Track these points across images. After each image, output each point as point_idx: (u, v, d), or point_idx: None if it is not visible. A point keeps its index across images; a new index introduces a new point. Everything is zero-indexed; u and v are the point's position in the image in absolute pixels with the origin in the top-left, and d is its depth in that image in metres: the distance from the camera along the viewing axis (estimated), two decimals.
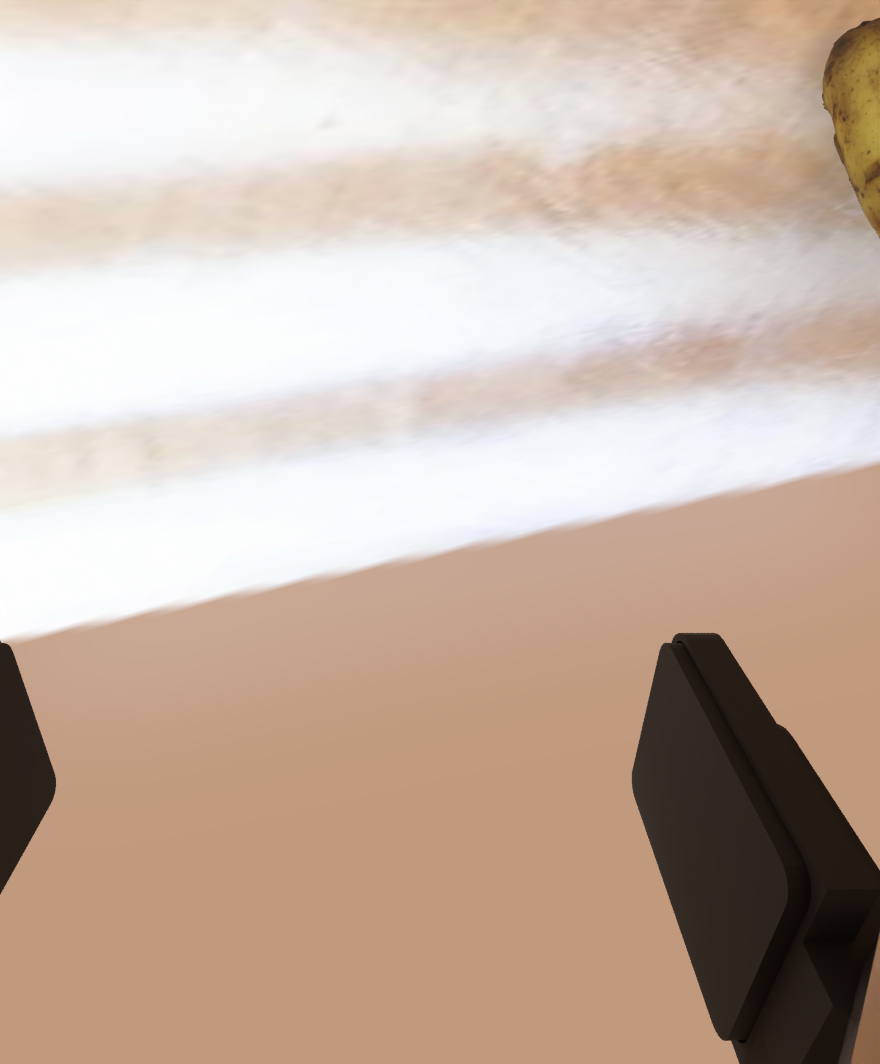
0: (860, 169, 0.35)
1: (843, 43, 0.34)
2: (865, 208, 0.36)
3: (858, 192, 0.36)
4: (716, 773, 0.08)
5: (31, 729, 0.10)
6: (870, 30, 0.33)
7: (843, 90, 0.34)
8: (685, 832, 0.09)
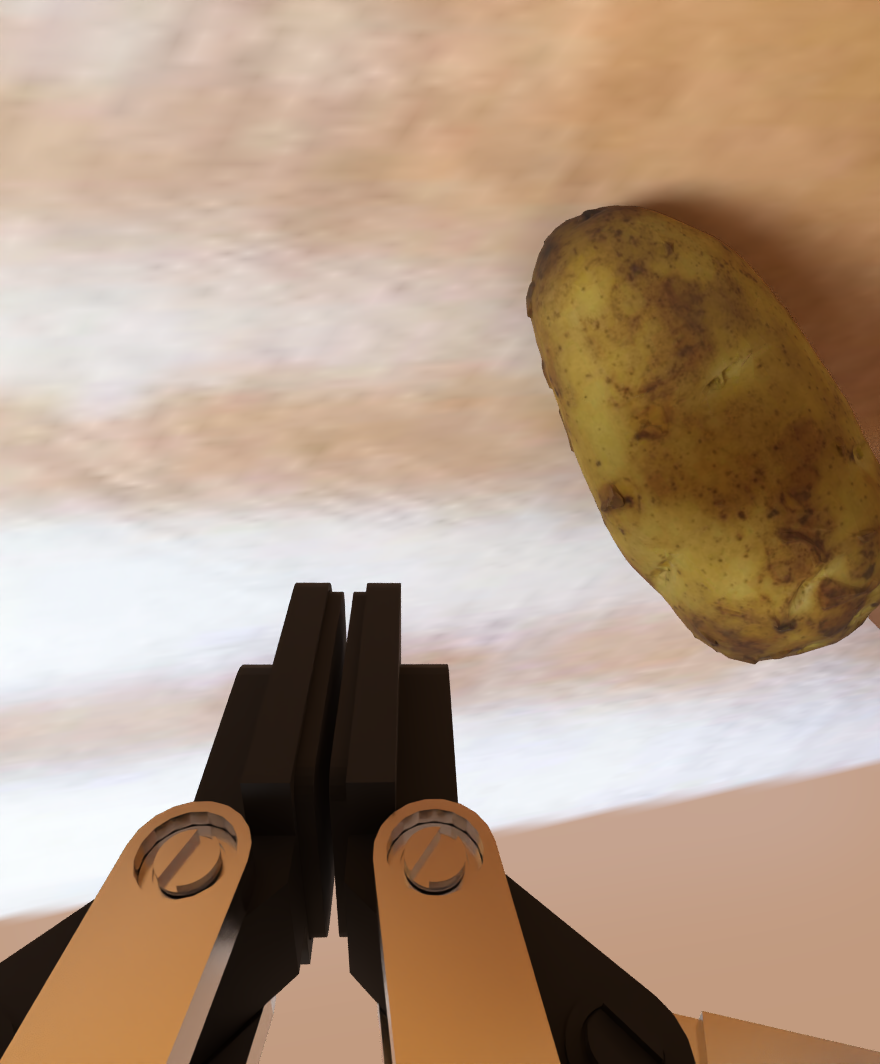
0: (592, 484, 0.18)
1: (548, 252, 0.17)
2: None
3: (600, 510, 0.19)
4: None
5: None
6: (586, 238, 0.17)
7: (547, 345, 0.17)
8: None
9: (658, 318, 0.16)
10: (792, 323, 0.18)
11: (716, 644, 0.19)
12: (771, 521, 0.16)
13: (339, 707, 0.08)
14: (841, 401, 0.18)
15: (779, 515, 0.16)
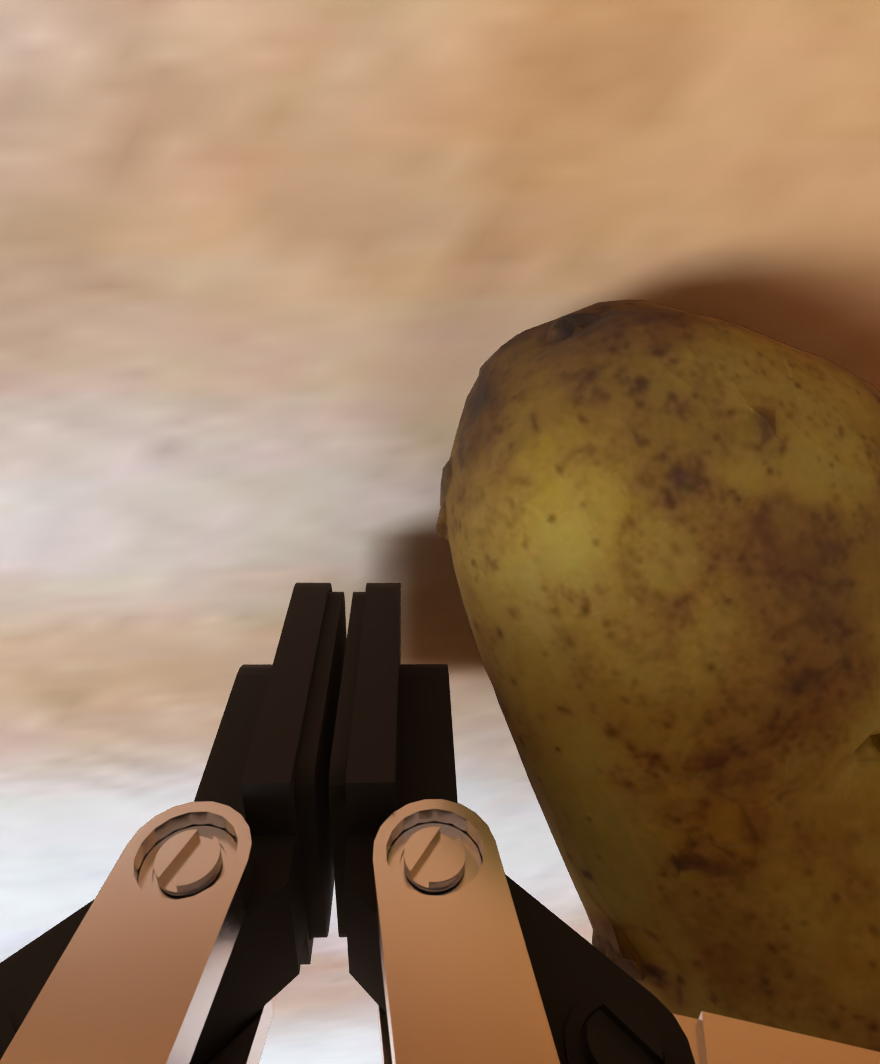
0: (575, 886, 0.09)
1: (479, 408, 0.08)
2: None
3: None
4: None
5: None
6: (560, 393, 0.07)
7: (474, 614, 0.08)
8: None
9: (738, 603, 0.06)
10: None
11: None
12: None
13: (339, 707, 0.08)
14: None
15: None
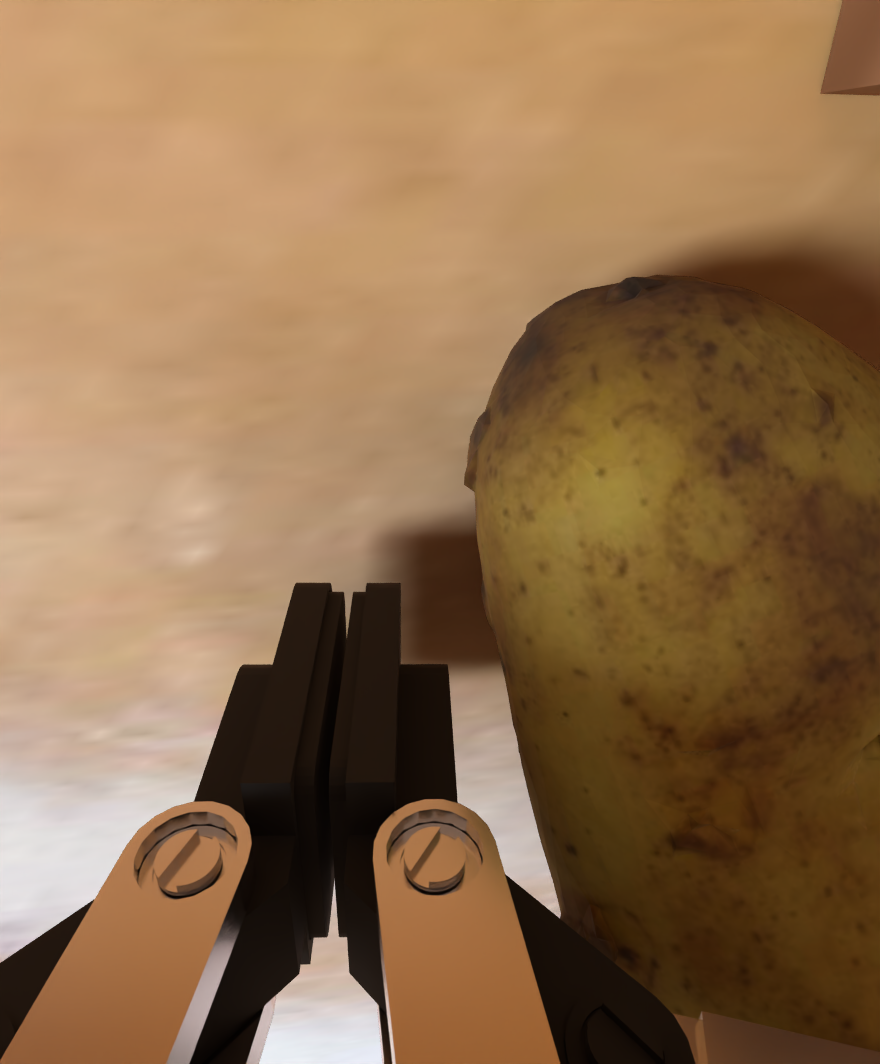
0: (550, 863, 0.08)
1: (530, 357, 0.08)
2: None
3: None
4: None
5: None
6: (625, 347, 0.07)
7: (496, 568, 0.07)
8: None
9: (776, 581, 0.06)
10: None
11: None
12: None
13: (339, 707, 0.08)
14: None
15: None
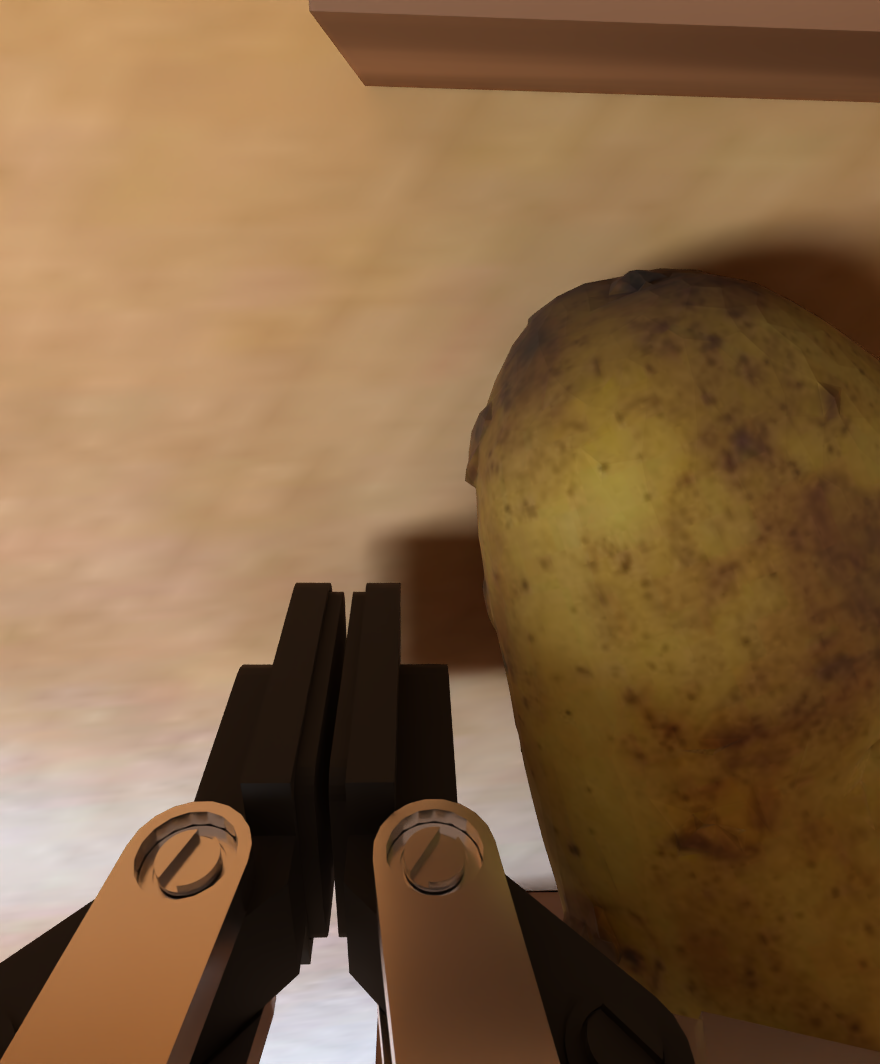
0: (553, 864, 0.08)
1: (531, 352, 0.07)
2: None
3: None
4: None
5: None
6: (628, 340, 0.07)
7: (498, 565, 0.07)
8: None
9: (782, 579, 0.06)
10: None
11: None
12: None
13: (339, 707, 0.08)
14: None
15: None
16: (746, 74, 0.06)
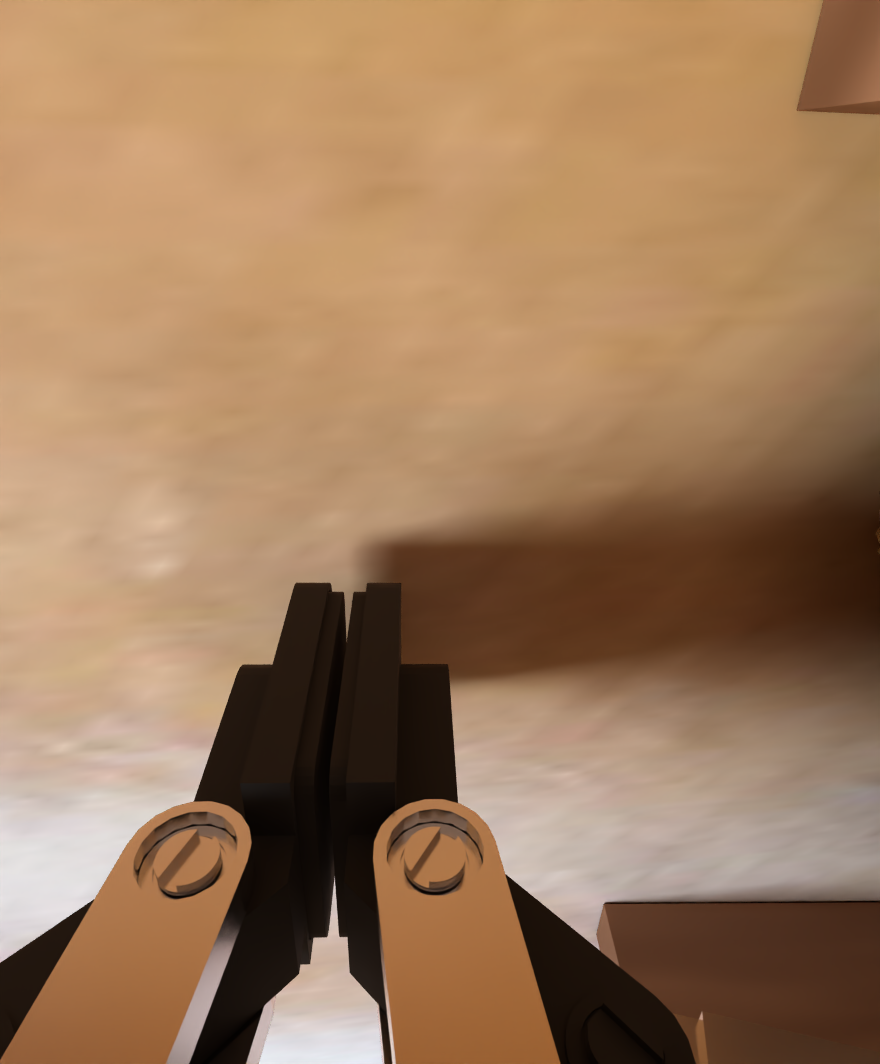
0: None
1: None
2: None
3: None
4: None
5: None
6: None
7: None
8: None
9: None
10: None
11: None
12: None
13: (339, 707, 0.08)
14: None
15: None
16: None
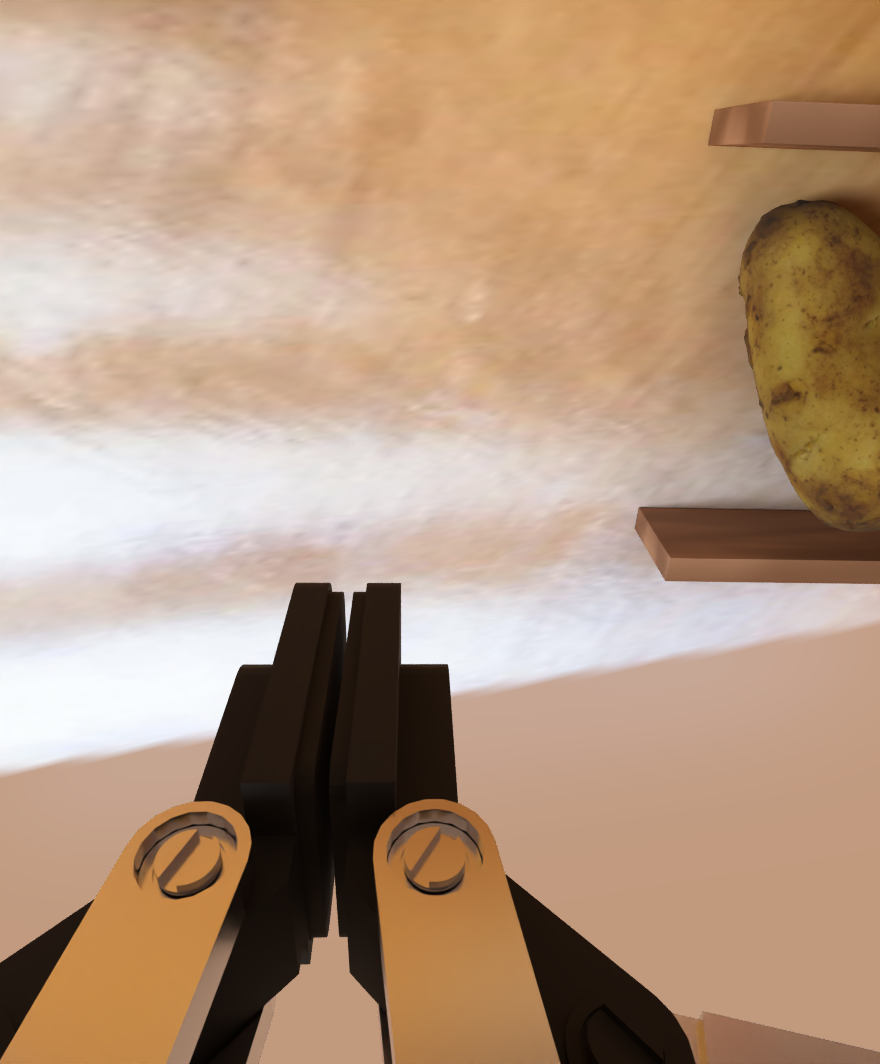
0: (767, 385, 0.27)
1: (770, 222, 0.26)
2: (768, 430, 0.28)
3: (763, 409, 0.28)
4: None
5: None
6: (804, 215, 0.25)
7: (760, 282, 0.26)
8: None
9: (844, 274, 0.25)
10: None
11: (831, 508, 0.27)
12: None
13: (339, 707, 0.08)
14: None
15: None
16: None
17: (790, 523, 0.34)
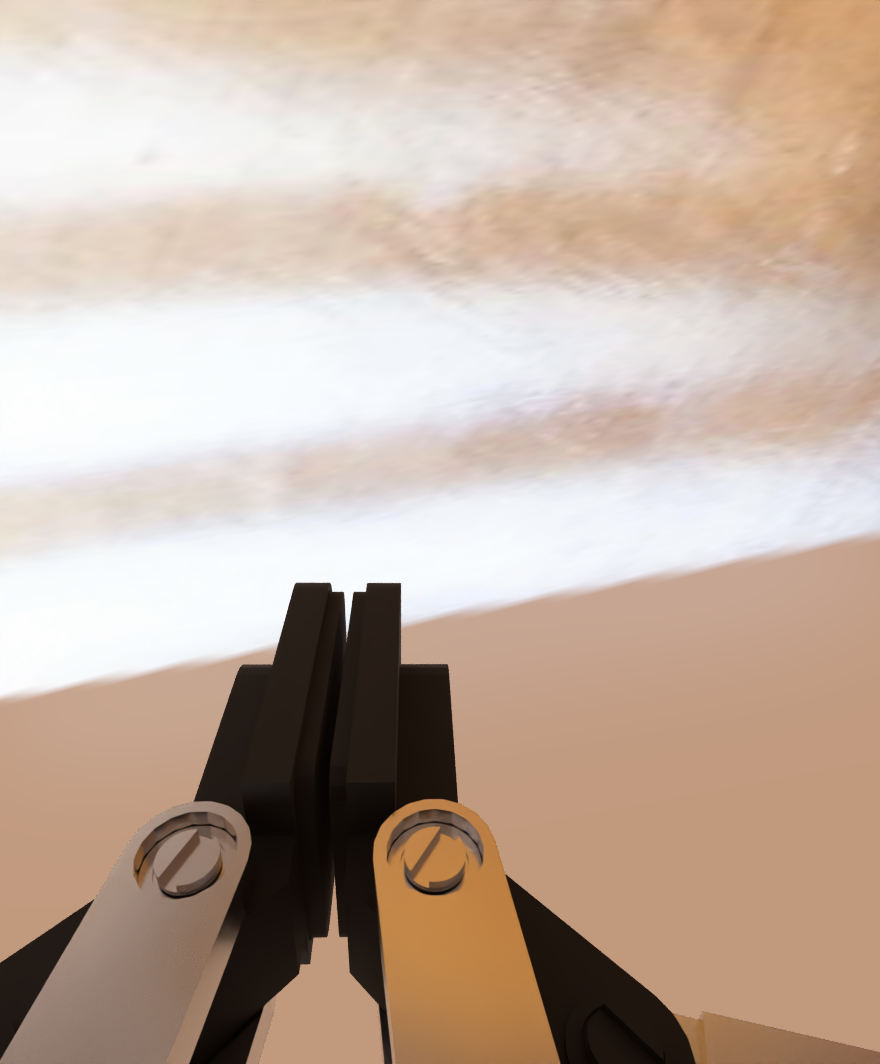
0: None
1: None
2: None
3: None
4: None
5: None
6: None
7: None
8: None
9: None
10: None
11: None
12: None
13: (339, 707, 0.08)
14: None
15: None
16: None
17: None
